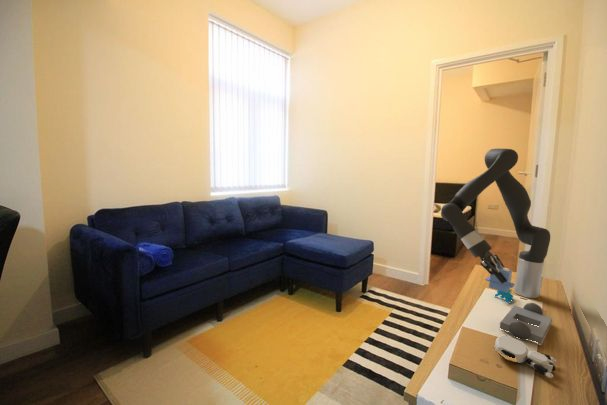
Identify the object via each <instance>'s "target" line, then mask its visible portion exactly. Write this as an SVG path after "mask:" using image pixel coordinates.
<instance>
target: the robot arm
mask: <svg viewBox="0 0 607 405" xmlns="http://www.w3.org/2000/svg"><path fill="white" fill-rule="evenodd" d="M518 160H519V155H518V152H517V151H516V150H515V149H513V148H512V149H511V148H491V149H489V150H488V151H486V152H485V156H484V163H485V166H486V168H487V170H485V171H484V172H482V173H481V174H480V175H478V176H476V177H474V178H472V179H471V180H469V181H468V182H467V183H465V184H464V185H463V186H462V187H461V188H460V189H459V190H458V191H457V192H456V193H455V195H454V196H453V198H452V199H451V200H450V202H446V203H445V204H444V205H443V206H442V207H441V209H440V216H441V218H442V219H443V221H446V222H448V223H449V224H450V225H451V226H452V228H453V231H454V232H455V234H456V235H457V236H458V238H459V239H460V240H461V242H462V244H464V246H465V247H466V249H467V250H468V251H469V252H470V253H471V255H472V256H473V257H474V258H478V257H479V259H480V261H481V262H479V264H480V265H481V267H483V268H484V270H486V271H487V272H488V274H490V275H492V274H493V275H495V276H496V277H497V278H498V280H499V281H500V282H501V283H505V282H506V281H507V280H506V278H505V277H504V276H503V275H502V274H501V272H500V271H499V269H498V268H497V267H499V268H505V265H504V264H503V262H502V260H501V259H500V258H499V256H498V255H497V253H495V254H493V253H492V252H491V250H492V249H493V247H492V246H491V245H490V244H489V242H488V241H487V240H486V239H485V238H484V237H483V235H482V234H481V233H479V231H478V230H477V229H476V228H475V227H474V226H473V224H471V222H470V221H469V220H468V219H467V217H466V215H465V214H464V213H463V212H464V211H465V209H466V208H467V207H468V206H470V204H472V202H473V201H475V199H477V197H479V195H480V194H481V193H482V192H483V191H484V190H486V189H487V188H488V187H490V185H492V184H493V183H495V184H496V186H497V188H498V190H499V192H500V195H501V197H502V200H503V202H504V204H505V206H506V209H507V210H508V212H509V216H510V217H511V220H512V222H513V226H514V229H515V233H516V236H517V237H518V240H519V242H521V243H522V244H524V245H528V246H530V248H529V250H522V251H520V252H519V254H518V262H517V268H516V274H515V275H516V276H515V280H514V284H515V286H514V287H513V288H514V289H513V292H514V293H515V294H517V295H519V296H520V297H525V298H527V299H538V298H539V297H540V296H541V290H542V289H541V288H542V283H543V277H542V276H543V275H542V274H543V268H544V262H545V259H546V257H547V256H548V250H549V246H550V242H551V233H550V231H549V230H548V229H546V228H544V227H540V226H535V225H532V223H531V221H530V220H529V218H528V213H529V211H530V209H531V205H532V201H531V198H530V196H529V194H528V190H527V189H526V188H525V186H524V185H523V184H522V183H521V182H520V181H519V180H518V179H516V178H515V176H513V175H512V173H511V172H510V170H512V169H514V167H515V165H517V163H518ZM492 269H493V270H492Z"/></svg>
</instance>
